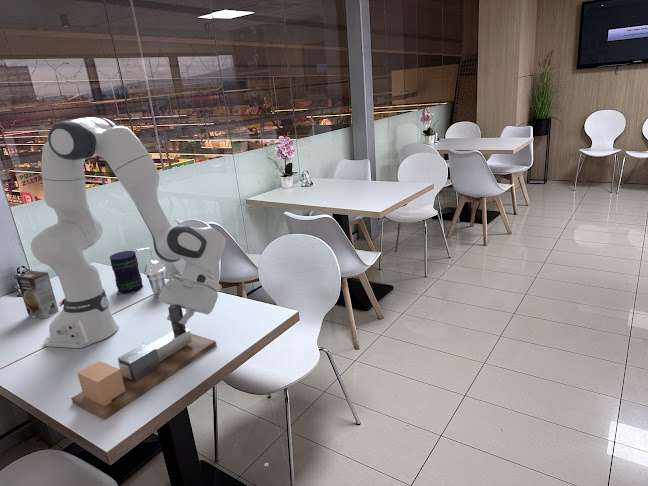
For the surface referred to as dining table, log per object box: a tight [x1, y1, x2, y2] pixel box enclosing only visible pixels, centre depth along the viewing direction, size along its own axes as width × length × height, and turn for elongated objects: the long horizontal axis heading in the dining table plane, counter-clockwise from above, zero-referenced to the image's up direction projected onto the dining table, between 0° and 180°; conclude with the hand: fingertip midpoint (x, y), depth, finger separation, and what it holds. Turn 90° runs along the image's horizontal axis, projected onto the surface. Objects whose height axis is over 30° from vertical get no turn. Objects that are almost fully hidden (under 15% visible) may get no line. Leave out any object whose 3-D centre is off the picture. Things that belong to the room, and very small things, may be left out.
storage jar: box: [109, 250, 144, 295], centre depth 187 cm, size 10×10×15 cm
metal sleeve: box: [117, 343, 161, 383], centre depth 125 cm, size 8×6×6 cm
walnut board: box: [70, 332, 217, 421], centre depth 128 cm, size 37×14×2 cm, turn 147°
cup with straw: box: [135, 247, 168, 297], centre depth 178 cm, size 8×9×20 cm
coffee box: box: [15, 270, 60, 319], centre depth 170 cm, size 9×6×16 cm
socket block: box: [76, 360, 125, 407], centre depth 116 cm, size 6×9×7 cm, turn 57°
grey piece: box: [117, 304, 192, 380], centre depth 128 cm, size 21×4×12 cm, turn 147°
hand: (175, 322), depth 134 cm, fingers closed on grey piece, 4 cm apart
